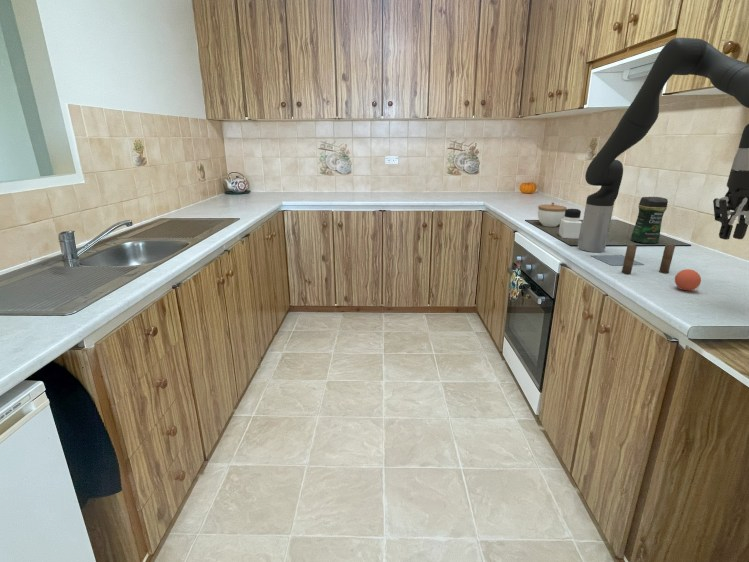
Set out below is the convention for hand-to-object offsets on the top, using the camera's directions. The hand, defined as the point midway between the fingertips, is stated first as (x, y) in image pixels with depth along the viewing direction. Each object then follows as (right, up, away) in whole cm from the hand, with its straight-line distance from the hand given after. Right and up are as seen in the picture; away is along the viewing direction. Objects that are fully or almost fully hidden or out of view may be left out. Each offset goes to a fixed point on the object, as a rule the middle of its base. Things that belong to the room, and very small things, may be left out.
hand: (730, 238), depth 107 cm
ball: (-1, -10, +13) cm, 17 cm away
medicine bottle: (-6, +8, +76) cm, 77 cm away
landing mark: (-5, -4, +42) cm, 43 cm away
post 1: (-10, -8, +28) cm, 31 cm away
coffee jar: (+22, +5, +69) cm, 73 cm away
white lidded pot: (-5, +16, +99) cm, 101 cm away
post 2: (+3, -8, +30) cm, 31 cm away
